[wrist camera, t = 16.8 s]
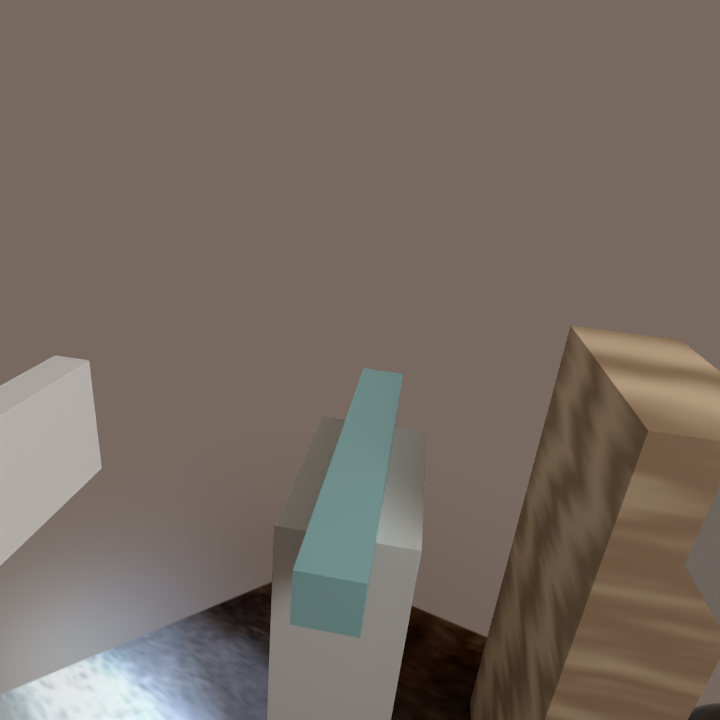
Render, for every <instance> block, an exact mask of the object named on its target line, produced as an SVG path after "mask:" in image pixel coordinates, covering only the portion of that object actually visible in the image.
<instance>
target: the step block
mask: <svg viewBox="0 0 720 720" xmlns="http://www.w3.org/2000/svg"><path fill="white" fill-rule="evenodd" d="M344 423H345V420H342V419H335V418H328V417H321V418H320V420H319V423H318V425H317V427H316V430H315V432H314V434H313V437H312V439H311V441H310V444H309V446H308V449H307V451H306V453H305V455H304V458H303V460H302V462H301V465H300V467H299V469H298V472H297V474H296V476H295V479H294V481H293V483H292V486H291V488H290V490H289V493H288V495H287V497H286V500H285V502H284V505H283V507H282V509H281V511H280V514H279V516H278V519H277V521H276V523H275V525H274V548H273V574H272V600H271V625H270V651H269V677H268V703H267V720H391V717H392V711H393V706H394V700H395V695H396V689H397V684H398V678H399V673H400V667H401V662H402V656H403V651H404V645H405V640H406V634H407V629H408V623H409V618H410V612H411V607H412V601H413V596H414V590H415V584H416V578H417V573H418V568H419V563H420V557H421V551H422V528H423V502H424V476H425V451H426V432H420V431H414V430H407V429H401V428H395V431H394V437H393V443H392V449H391V455H390V461H389V467H388V473H387V479H386V485H385V491H384V497H383V503H382V509H381V515H380V521H379V527H378V533H377V539H376V545H375V551H374V557H373V563H372V570H371V576H370V582H369V588H368V594H367V600H366V606H365V612H364V618H363V624H362V630H361V636H360V638H357V637H352V636H346V635H341V634H336V633H331V632H326V631H321V630H316V629H311V628H306V627H301V626H295V625H290V610H291V593H292V576H293V568H294V565H295V563H296V560H297V557H298V554H299V551H300V548H301V545H302V543H303V540H304V537H305V534H306V531H307V528H308V525H309V523H310V520H311V517H312V514H313V511H314V508H315V505H316V503H317V500H318V497H319V494H320V491H321V488H322V486H323V483H324V480H325V477H326V474H327V471H328V468H329V466H330V463H331V460H332V457H333V454H334V451H335V448H336V446H337V443H338V440H339V437H340V434H341V431H342V428H343V426H344Z"/></svg>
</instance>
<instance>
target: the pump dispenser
mask: <svg viewBox="0 0 720 720" xmlns="http://www.w3.org/2000/svg"><path fill="white" fill-rule="evenodd" d="M688 720H720V703H714V704H705V705H700V706H697V707H694V709H693V711H692V713H691V715H690V717H689V719H688Z"/></svg>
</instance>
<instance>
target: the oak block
mask: <svg viewBox="0 0 720 720" xmlns="http://www.w3.org/2000/svg"><path fill="white" fill-rule="evenodd" d="M719 487H720V371H718V370H717V369H716V368H715V367H713V366H712V365H711V364H710V363H708V362H707V361H706V360H705V359H703V358H702V357H701V356H699V355H698V354H697V353H696V352H695V351H693V350H692V349H691V348H690V347H688V346H687V345H686V344H685V343H683V342H682V341H681V340H677V339H670V338H662V337H654V336H647V335H639V334H631V333H624V332H615V331H608V330H601V329H593V328H586V327H578V326H571V327H570V331H569V335H568V338H567V342H566V345H565V349H564V353H563V356H562V360H561V364H560V368H559V371H558V375H557V379H556V383H555V386H554V390H553V394H552V398H551V401H550V405H549V409H548V413H547V416H546V420H545V424H544V428H543V431H542V435H541V439H540V443H539V446H538V450H537V454H536V457H535V462H534V465H533V469H532V473H531V477H530V480H529V484H528V488H527V491H526V495H525V499H524V503H523V506H522V510H521V514H520V517H519V521H518V525H517V529H516V532H515V536H514V540H513V544H512V547H511V551H510V555H509V559H508V562H507V566H506V570H505V573H504V577H503V581H502V585H501V589H500V592H499V596H498V600H497V603H496V607H495V611H494V615H493V618H492V622H491V626H490V630H489V633H488V637H487V641H486V645H485V648H484V652H483V656H482V660H481V663H480V667H479V671H478V674H477V678H476V682H475V686H474V689H473V693H472V697H471V701H470V710H471V720H688V719H689V717H690V715H691V713H692V711H693V709H694V707H695V705H696V703H697V701H698V700H699V698H700V696H701V694H702V692H703V690H704V688H705V686H706V684H707V682H708V680H709V678H710V677H711V674H712V673H713V671H714V669H715V667H716V665H717V663H718V661H719V659H720V625H719V624H718V622H717V620H716V618H715V617H714V615H713V613H712V612H711V610H710V608H709V606H708V605H707V603H706V601H705V600H704V598H703V596H702V595H701V593H700V591H699V589H698V588H697V586H696V584H695V583H694V581H693V579H692V578H691V576H690V574H689V572H688V571H687V569H686V567H685V564H686V561H687V559H688V557H689V555H690V552H691V550H692V548H693V546H694V543H695V541H696V539H697V537H698V534H699V532H700V530H701V528H702V525H703V523H704V521H705V518H706V516H707V514H708V512H709V509H710V507H711V505H712V503H713V500H714V498H715V496H716V494H717V491H718V489H719Z"/></svg>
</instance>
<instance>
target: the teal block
mask: <svg viewBox="0 0 720 720" xmlns="http://www.w3.org/2000/svg"><path fill="white" fill-rule="evenodd" d="M402 377H403V374H399V373H393V372H386V371H379V370H372V369H365V368H364V369H363V371H362V374H361V377H360V380H359V383H358V386H357V389H356V391H355V394H354V397H353V400H352V403H351V406H350V409H349V411H348V414H347V417H346V420H345V423H344V426H343V428H342V431H341V434H340V437H339V440H338V443H337V446H336V448H335V451H334V454H333V457H332V460H331V463H330V466H329V468H328V471H327V474H326V477H325V480H324V483H323V486H322V488H321V491H320V494H319V497H318V500H317V503H316V505H315V508H314V511H313V514H312V517H311V520H310V523H309V525H308V528H307V531H306V534H305V537H304V540H303V543H302V545H301V548H300V551H299V554H298V557H297V560H296V563H295V565H294V568H293V576H292V593H291V610H290V625H295V626H301V627H306V628H311V629H316V630H321V631H326V632H331V633H336V634H341V635H346V636H352V637H357V638H360V636H361V630H362V624H363V618H364V612H365V606H366V600H367V594H368V588H369V582H370V576H371V570H372V563H373V557H374V551H375V545H376V539H377V533H378V527H379V521H380V515H381V509H382V503H383V497H384V491H385V485H386V479H387V473H388V467H389V461H390V455H391V449H392V443H393V437H394V431H395V425H396V424H395V423H396V418H397V412H398V405H399V399H400V391H401V384H402Z"/></svg>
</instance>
